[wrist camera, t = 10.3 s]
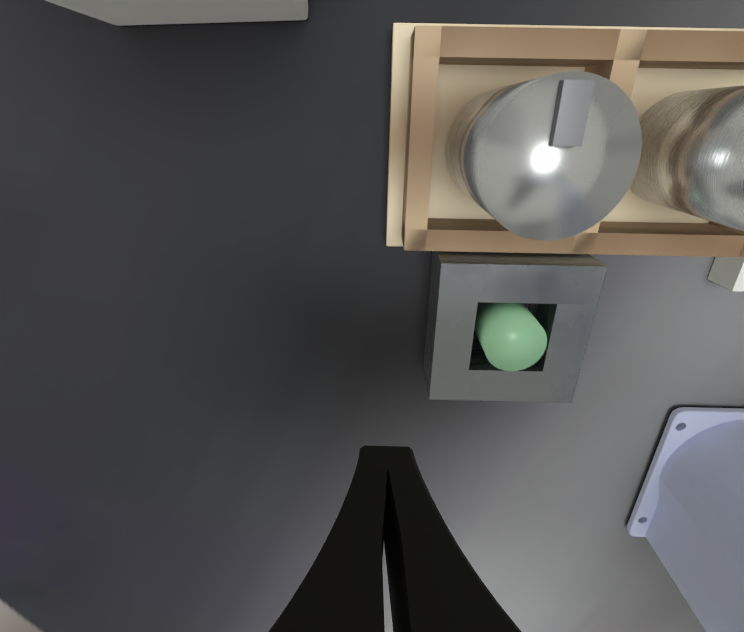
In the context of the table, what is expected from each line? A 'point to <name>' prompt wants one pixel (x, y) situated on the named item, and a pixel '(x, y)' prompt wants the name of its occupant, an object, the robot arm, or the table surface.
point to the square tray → (728, 273)
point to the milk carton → (187, 10)
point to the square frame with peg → (509, 285)
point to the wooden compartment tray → (522, 63)
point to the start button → (509, 335)
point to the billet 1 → (546, 153)
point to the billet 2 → (695, 154)
